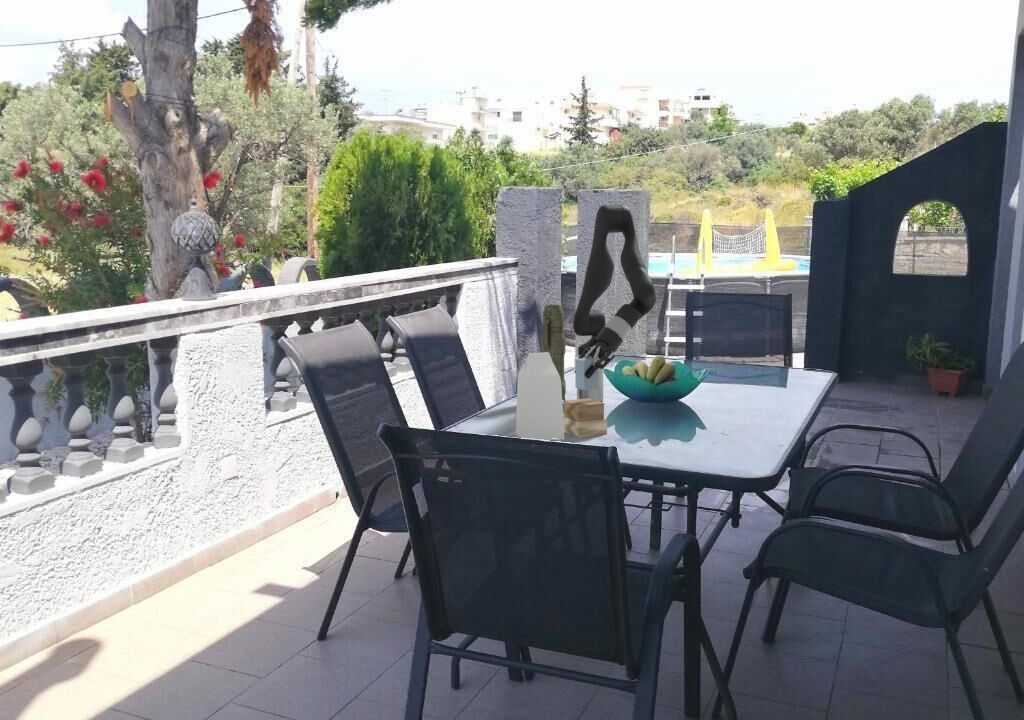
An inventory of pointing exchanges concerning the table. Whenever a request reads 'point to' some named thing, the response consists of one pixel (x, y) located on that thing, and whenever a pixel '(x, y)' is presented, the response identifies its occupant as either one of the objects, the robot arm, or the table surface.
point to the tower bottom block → (585, 427)
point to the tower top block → (584, 410)
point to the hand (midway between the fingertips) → (581, 375)
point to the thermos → (554, 339)
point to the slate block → (580, 378)
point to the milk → (539, 399)
